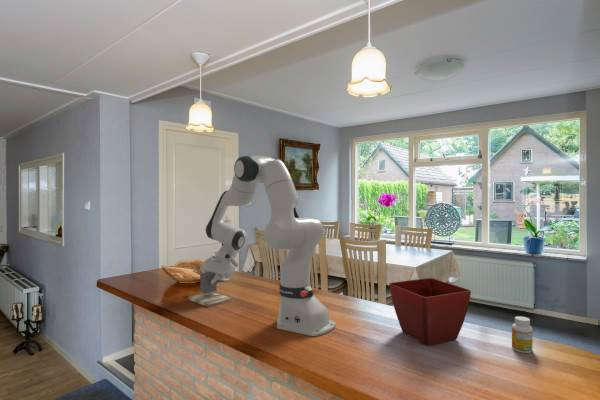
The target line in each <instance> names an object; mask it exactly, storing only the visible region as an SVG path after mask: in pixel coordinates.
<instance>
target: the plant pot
mask: <svg viewBox="0 0 600 400" xmlns="http://www.w3.org/2000/svg"><path fill="white" fill-rule="evenodd" d="M388 285H389V286H388V287H389V292H390V297H391V300H392V305H393V309H394V312H395V315H396V318H397V320H398V324H399V326H400V329H401V331H402V333H404V334H406V335H408V337H410V338H413V339H414V340H416V341H418V342H419V343H421V344H423V345H425V346H431V345H432V346H433V345H436V344H440V343H441V344H442V343H447V342H452V341H456V340H457V339H458V338H459V337H458V336H459V334H460V332H461V329H462V328H463V326H464V323H465V319H466V316H467V312H468V308H469V304H470V300H471V295H472V290H471V289H468V288H465V287H461V286H458V285H455V284H453V283H452V284H451V283H449V282H446V281H442V280H439V279H436V278H432V277H428V278H419V279H417V278H416V279H409V280H401V281H396V282H390V283H389V284H388Z"/></svg>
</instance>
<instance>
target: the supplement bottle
mask: <svg viewBox="0 0 600 400" xmlns="http://www.w3.org/2000/svg"><path fill="white" fill-rule="evenodd" d="M530 324H531V319H530V318H529V317H526V316H515V317H514V322H513V323H512V325H511V349H512V350H514V351H515V352H517V353H520V354H521V353H523V354H531V353H532V352H533V338H534V337H533V327H532V326H531V325H530Z"/></svg>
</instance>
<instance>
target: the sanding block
mask: <svg viewBox="0 0 600 400" xmlns="http://www.w3.org/2000/svg"><path fill="white" fill-rule="evenodd" d="M199 274H200V276H199V280H200V282H199V283H200V284H199V285H200V287H199V289H200V292H199V293H200V294H204V295H207V294H211V293H217V283H218V282H217V281H215V283H214V284H210V283H209V281H210V280H211V279H213V278H214V277H215V273H211V272H207V273H203V272H202V273H199Z"/></svg>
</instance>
